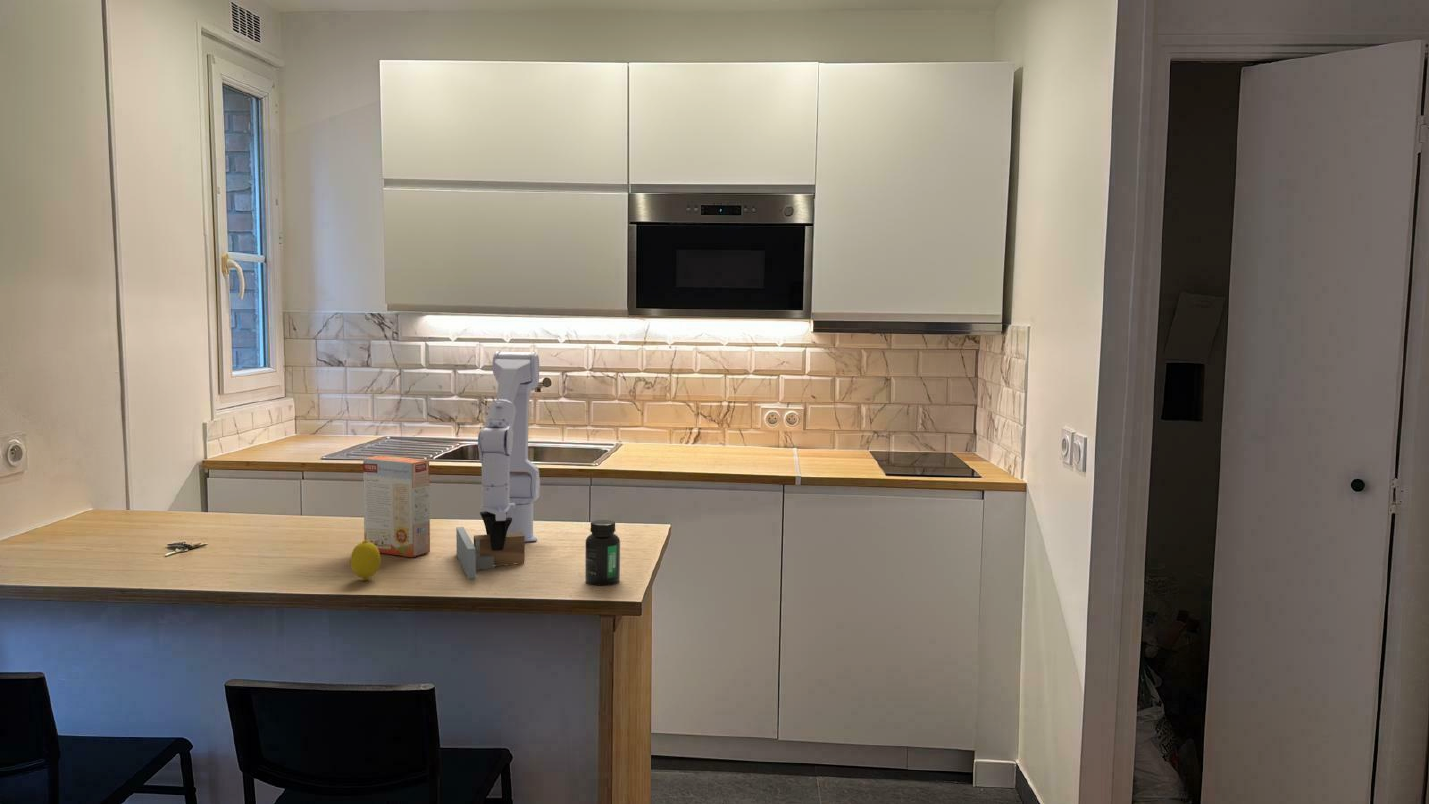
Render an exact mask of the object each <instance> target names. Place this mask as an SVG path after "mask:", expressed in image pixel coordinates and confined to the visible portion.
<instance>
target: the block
mask: <svg viewBox="0 0 1429 804" xmlns="http://www.w3.org/2000/svg"><path fill="white" fill-rule="evenodd" d="M473 545H474V547H475V553H476V556H488V555H493V556H494V565H497V566H506V565H505V564H509V565H515V564H514V563H522V564H525V563H524V562H525V556H526V555H525V554H526V553H525V536H524V535H523V533H522V532H517V533H507V534H506V538H505V543H504V548H503V550H499V551H493V550H492V547H491V541H490V534H488V535H487V534H475V535H473Z"/></svg>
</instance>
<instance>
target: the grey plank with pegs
mask: <svg viewBox="0 0 1429 804" xmlns="http://www.w3.org/2000/svg"><path fill="white" fill-rule="evenodd" d="M455 532H456V556H457V558H458V561H459V562H460V564H461V567H462V569H463V571H464V573H465V575H466V577H468V578H469V579H475V578H476V577H477V576H476V571H480V570H479V569H484V570H495V566H494V556H493V555H488V556H476V553H475V547H474V542H472V540H471V538H470V536H469V534H468V533H467V531H466V529H465V527H464V526H457V527H456V531H455ZM468 578H467V579H468ZM476 579H477V578H476Z"/></svg>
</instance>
